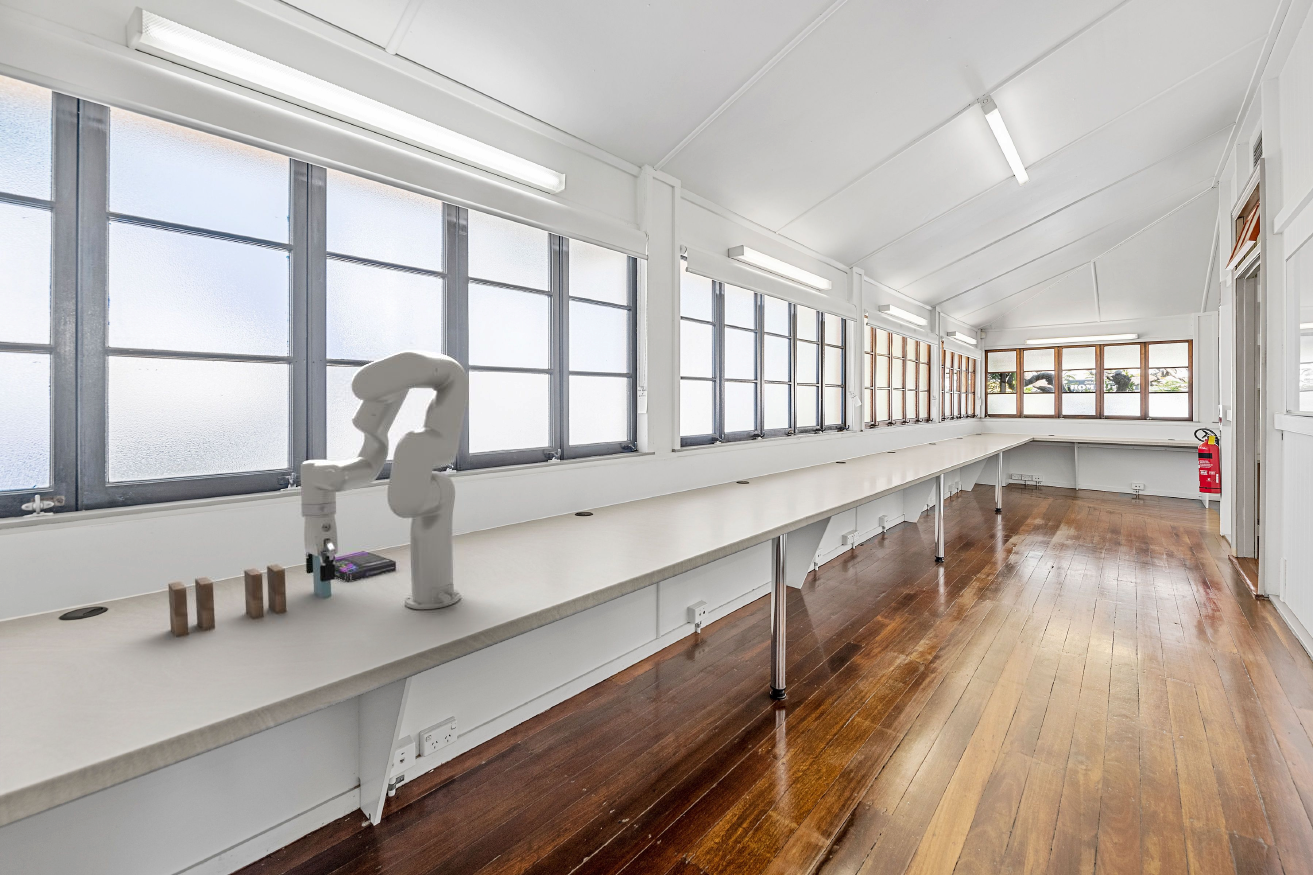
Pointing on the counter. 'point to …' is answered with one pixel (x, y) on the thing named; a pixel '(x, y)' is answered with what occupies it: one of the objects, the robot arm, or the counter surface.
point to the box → (362, 566)
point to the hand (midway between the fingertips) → (320, 576)
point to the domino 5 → (319, 587)
